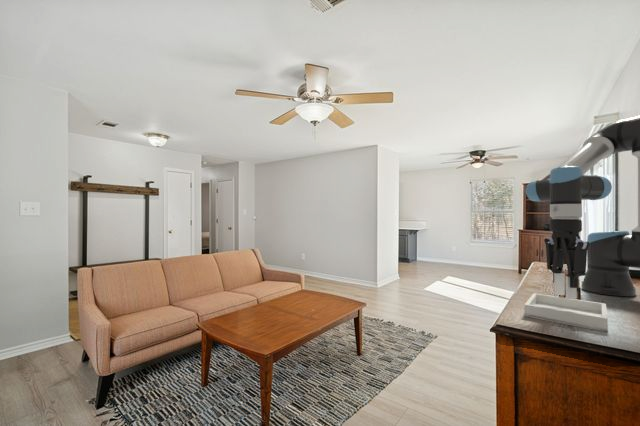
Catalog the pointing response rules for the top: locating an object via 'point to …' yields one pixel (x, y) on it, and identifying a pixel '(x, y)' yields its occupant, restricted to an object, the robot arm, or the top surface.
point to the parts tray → (567, 311)
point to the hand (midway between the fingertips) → (565, 296)
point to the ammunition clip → (577, 288)
